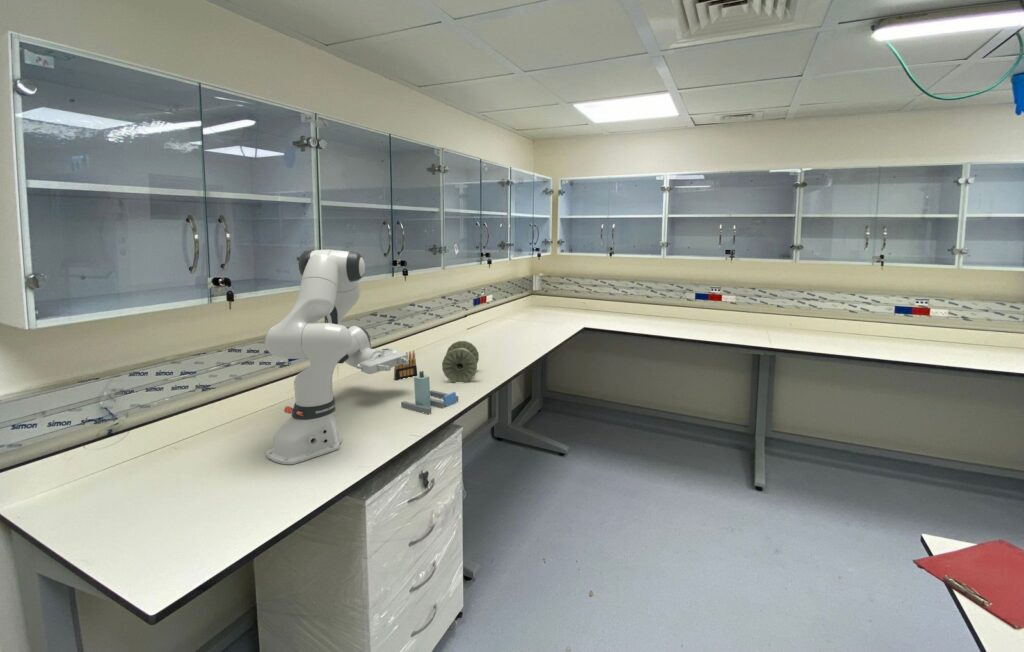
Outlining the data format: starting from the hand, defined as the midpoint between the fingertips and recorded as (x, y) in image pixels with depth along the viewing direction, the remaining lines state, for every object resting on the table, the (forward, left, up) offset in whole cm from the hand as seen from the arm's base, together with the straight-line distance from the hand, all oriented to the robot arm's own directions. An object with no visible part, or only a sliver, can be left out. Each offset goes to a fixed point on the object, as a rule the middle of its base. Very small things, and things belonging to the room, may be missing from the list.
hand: (398, 365), depth 200 cm
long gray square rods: (+4, -12, -14) cm, 19 cm away
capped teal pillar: (0, -12, -15) cm, 19 cm away
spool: (+38, 0, -15) cm, 41 cm away
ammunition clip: (+24, +21, -15) cm, 35 cm away
